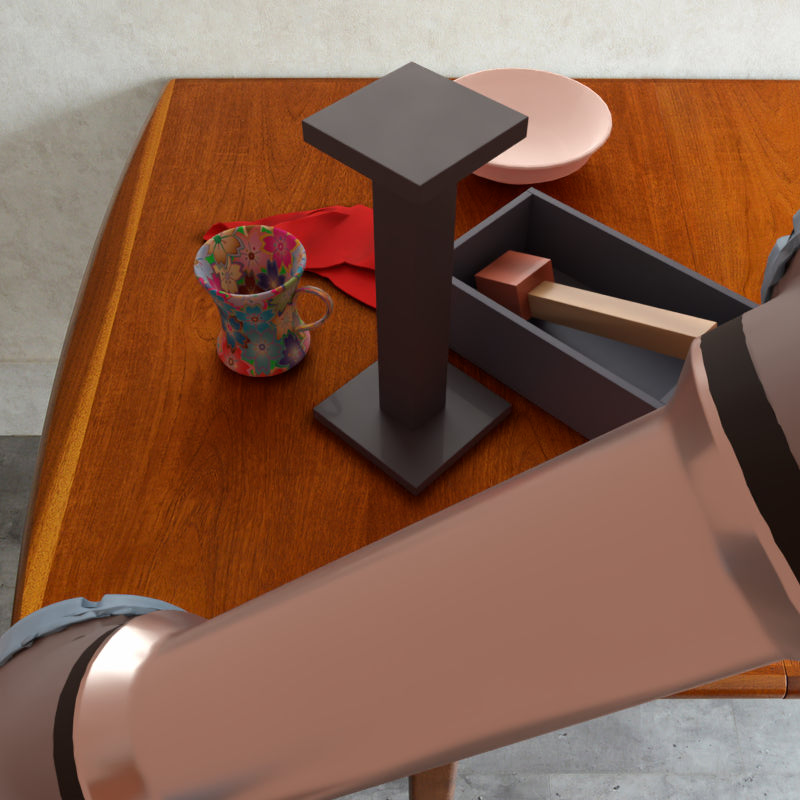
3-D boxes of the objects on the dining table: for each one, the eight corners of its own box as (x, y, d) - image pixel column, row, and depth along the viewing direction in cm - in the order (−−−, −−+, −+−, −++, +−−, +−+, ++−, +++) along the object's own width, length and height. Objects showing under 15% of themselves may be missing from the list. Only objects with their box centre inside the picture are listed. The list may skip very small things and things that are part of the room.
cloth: (479, 246, 92) (481, 228, 90) (420, 330, 83) (420, 312, 82) (265, 178, 99) (262, 161, 98) (192, 249, 91) (188, 231, 90)
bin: (641, 474, 72) (662, 412, 67) (419, 328, 84) (420, 264, 78) (739, 372, 80) (766, 308, 74) (523, 250, 91) (531, 186, 85)
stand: (415, 497, 71) (420, 201, 50) (313, 417, 77) (277, 120, 55) (511, 413, 77) (552, 115, 55) (409, 345, 82) (411, 50, 61)
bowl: (392, 150, 103) (392, 100, 98) (527, 99, 110) (533, 50, 105) (497, 241, 92) (503, 190, 87) (640, 178, 99) (652, 127, 94)
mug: (194, 369, 80) (171, 279, 72) (244, 304, 86) (228, 214, 78) (315, 407, 77) (304, 318, 69) (358, 337, 83) (354, 247, 75)
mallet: (692, 373, 69) (689, 330, 67) (482, 312, 84) (474, 275, 82) (726, 340, 71) (725, 297, 69) (516, 286, 86) (509, 249, 84)
